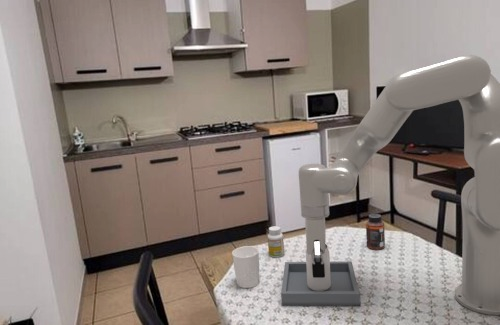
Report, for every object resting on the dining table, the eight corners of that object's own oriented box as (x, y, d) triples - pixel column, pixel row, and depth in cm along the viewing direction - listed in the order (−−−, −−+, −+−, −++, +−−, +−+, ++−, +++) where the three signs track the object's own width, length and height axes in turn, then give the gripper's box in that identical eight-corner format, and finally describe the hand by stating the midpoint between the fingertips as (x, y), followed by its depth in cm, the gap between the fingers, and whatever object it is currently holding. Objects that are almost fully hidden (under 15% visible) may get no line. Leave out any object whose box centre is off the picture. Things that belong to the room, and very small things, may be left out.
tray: (352, 272, 110) (351, 261, 109) (360, 306, 92) (359, 293, 92) (286, 272, 113) (285, 262, 113) (281, 305, 96) (281, 293, 95)
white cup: (248, 273, 115) (245, 243, 113) (266, 281, 109) (264, 250, 107) (229, 283, 109) (226, 252, 108) (248, 292, 104) (244, 259, 102)
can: (330, 280, 105) (328, 241, 103) (331, 292, 98) (329, 251, 96) (307, 280, 106) (305, 241, 104) (307, 292, 100) (305, 251, 97)
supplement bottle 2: (387, 249, 123) (386, 217, 120) (369, 251, 123) (368, 219, 121) (381, 242, 128) (380, 212, 126) (364, 243, 129) (363, 213, 126)
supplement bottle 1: (275, 250, 130) (272, 224, 128) (287, 253, 127) (285, 226, 125) (265, 255, 126) (263, 229, 124) (278, 259, 123) (276, 232, 121)
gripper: (301, 200, 108) (305, 256, 111) (300, 221, 91) (304, 285, 94) (327, 199, 106) (330, 255, 110) (331, 220, 89) (334, 285, 93)
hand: (318, 269), depth 102 cm, fingers open, 7 cm apart
